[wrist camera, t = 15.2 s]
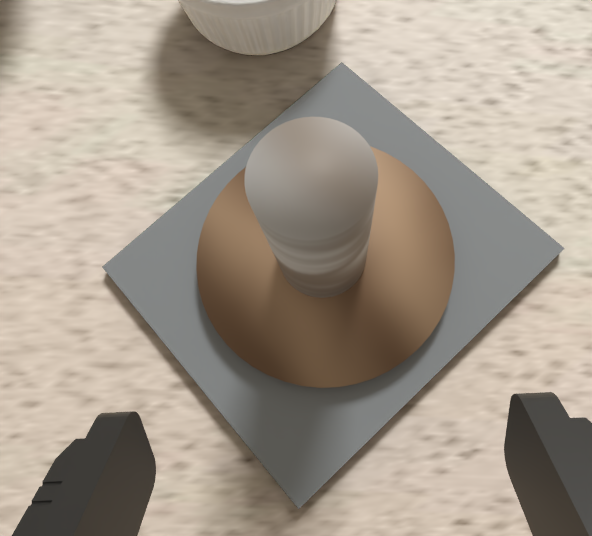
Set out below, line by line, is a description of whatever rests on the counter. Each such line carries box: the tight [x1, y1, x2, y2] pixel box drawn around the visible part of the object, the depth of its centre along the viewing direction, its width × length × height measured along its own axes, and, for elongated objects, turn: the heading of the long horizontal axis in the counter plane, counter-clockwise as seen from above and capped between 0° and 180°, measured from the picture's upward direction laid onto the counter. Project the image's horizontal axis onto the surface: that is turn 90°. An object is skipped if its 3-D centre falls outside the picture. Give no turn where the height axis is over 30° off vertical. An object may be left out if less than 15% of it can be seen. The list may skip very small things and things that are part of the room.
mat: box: [103, 62, 564, 509], centre depth 26 cm, size 18×16×1 cm
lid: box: [196, 117, 455, 388], centre depth 21 cm, size 13×13×10 cm
